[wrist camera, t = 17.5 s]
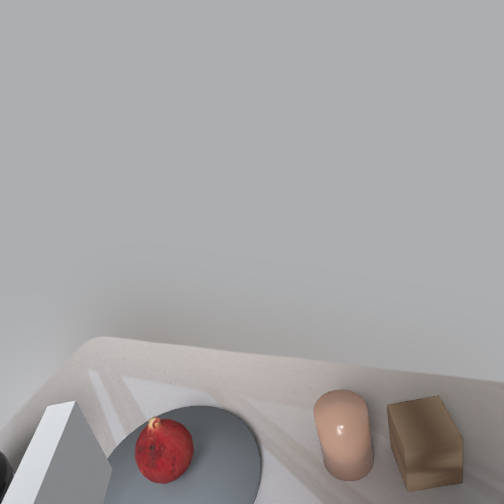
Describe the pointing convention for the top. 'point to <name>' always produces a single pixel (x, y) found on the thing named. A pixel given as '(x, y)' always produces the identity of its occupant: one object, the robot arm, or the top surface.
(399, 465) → the walnut block
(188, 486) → the slate plate
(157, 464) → the red pomegranate
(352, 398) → the cylinder
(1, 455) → the supplement container
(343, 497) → the top surface
